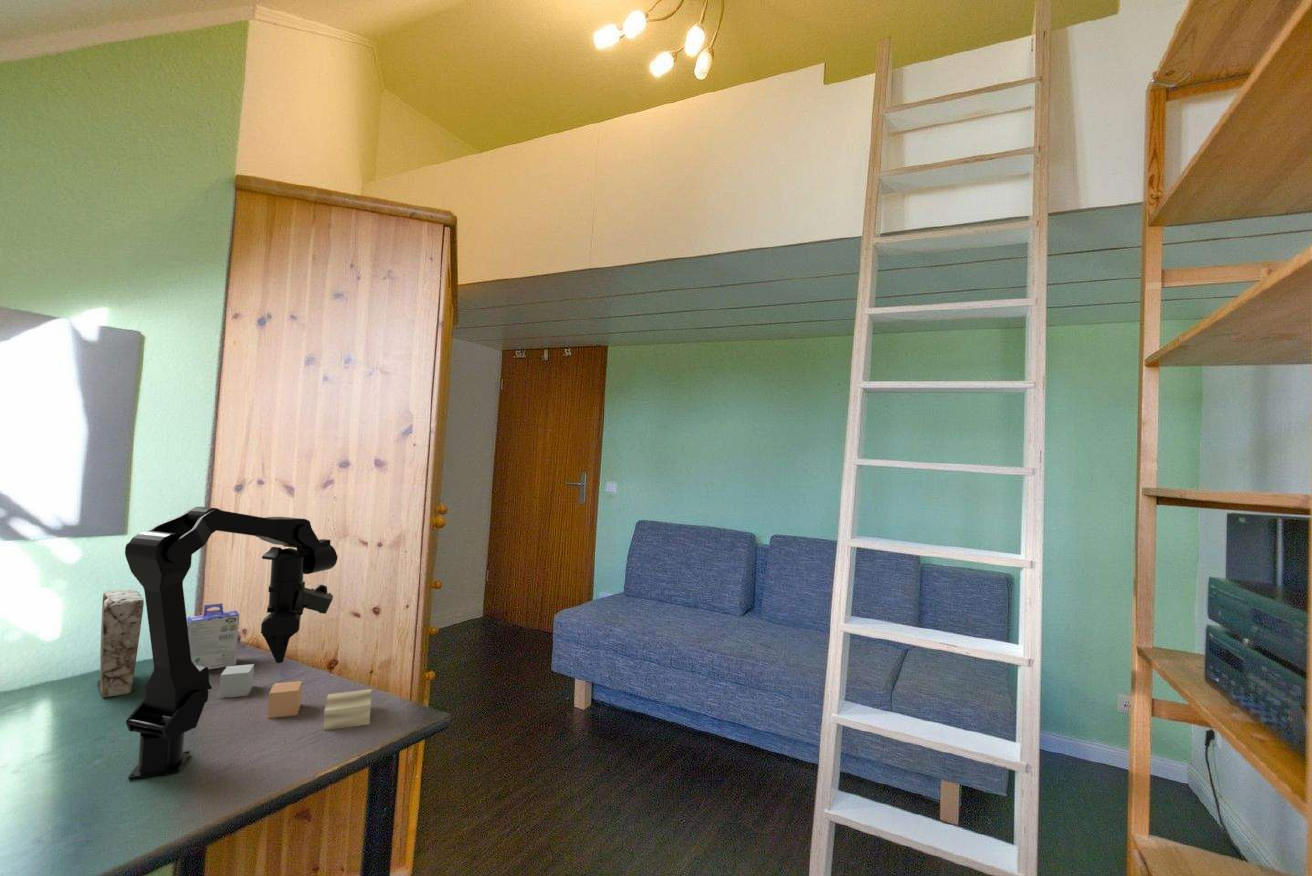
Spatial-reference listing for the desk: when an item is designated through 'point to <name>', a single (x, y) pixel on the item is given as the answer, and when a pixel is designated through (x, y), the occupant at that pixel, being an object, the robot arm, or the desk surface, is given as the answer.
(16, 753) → the desk surface
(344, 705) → the birch block
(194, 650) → the ink cartridge box
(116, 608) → the stone block
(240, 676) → the light grey cube
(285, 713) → the tan cube
